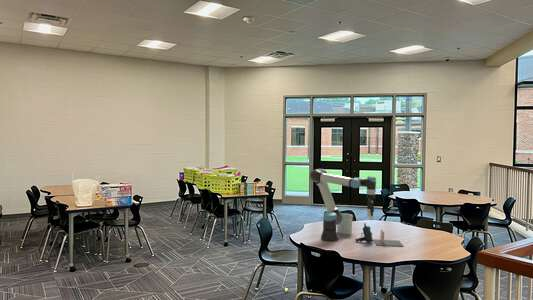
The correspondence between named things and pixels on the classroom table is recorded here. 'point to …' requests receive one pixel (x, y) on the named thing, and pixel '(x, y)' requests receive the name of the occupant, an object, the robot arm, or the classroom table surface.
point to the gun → (366, 235)
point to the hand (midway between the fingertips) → (370, 217)
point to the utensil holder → (345, 224)
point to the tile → (382, 237)
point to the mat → (388, 243)
